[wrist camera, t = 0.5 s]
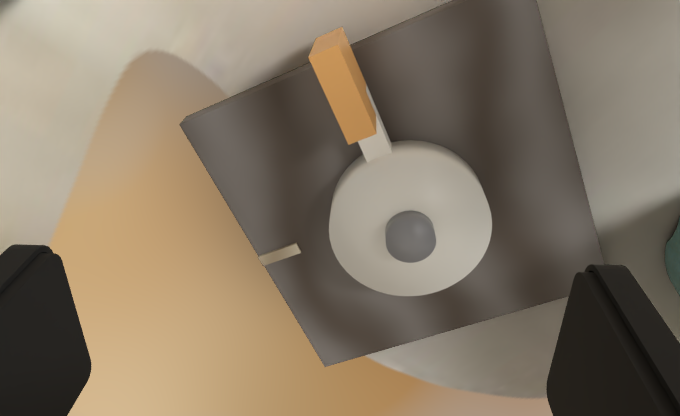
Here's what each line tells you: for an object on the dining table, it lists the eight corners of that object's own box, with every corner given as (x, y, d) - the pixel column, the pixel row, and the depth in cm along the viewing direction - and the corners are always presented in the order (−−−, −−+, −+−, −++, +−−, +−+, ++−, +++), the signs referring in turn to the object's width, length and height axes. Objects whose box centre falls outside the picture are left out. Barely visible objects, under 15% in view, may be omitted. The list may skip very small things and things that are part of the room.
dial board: (522, -30, 31) (530, -27, 29) (601, 271, 40) (610, 285, 39) (186, 116, 36) (178, 125, 34) (326, 353, 45) (324, 368, 44)
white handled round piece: (502, 246, 37) (519, 289, 33) (366, 290, 40) (365, 335, 36) (413, -7, 30) (420, 8, 26) (251, 66, 32) (233, 90, 28)
